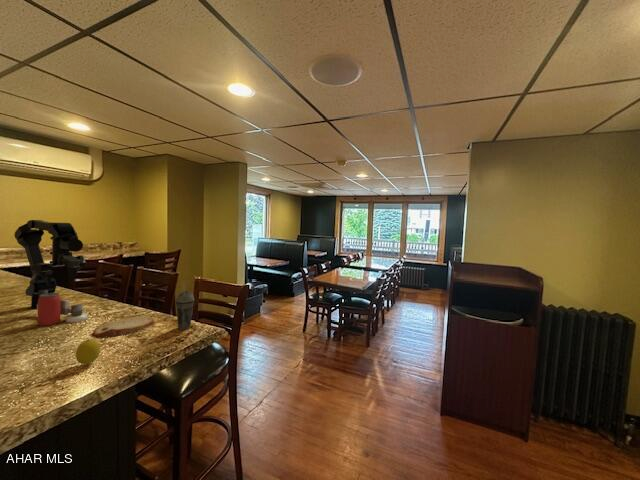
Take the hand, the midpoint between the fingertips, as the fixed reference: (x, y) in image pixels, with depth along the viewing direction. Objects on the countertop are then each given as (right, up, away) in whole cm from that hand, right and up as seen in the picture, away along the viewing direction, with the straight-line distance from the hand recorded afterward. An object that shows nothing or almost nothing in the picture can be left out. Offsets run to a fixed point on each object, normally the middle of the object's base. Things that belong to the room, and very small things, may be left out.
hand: (60, 283), depth 124 cm
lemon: (+49, -18, -42) cm, 68 cm away
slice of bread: (+40, -17, -13) cm, 45 cm away
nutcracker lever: (+6, -11, -7) cm, 15 cm away
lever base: (+15, -14, -8) cm, 22 cm away
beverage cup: (+62, -18, -10) cm, 65 cm away
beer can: (+9, -14, -14) cm, 22 cm away
